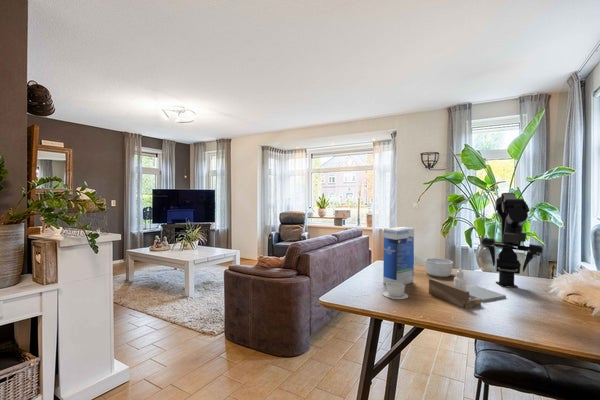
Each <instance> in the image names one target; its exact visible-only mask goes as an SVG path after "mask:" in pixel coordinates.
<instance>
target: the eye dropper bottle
mask: <svg viewBox="0 0 600 400" xmlns="http://www.w3.org/2000/svg"><path fill="white" fill-rule="evenodd" d="M455 274H456V276H454V278H453V286H455V287H457V288H460V289H463V290H466V287H467V282H466V279H465V277H464V271H462V268H461V267H459V268H458V270H457V271H456V273H455Z"/></svg>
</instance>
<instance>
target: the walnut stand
mask: <svg viewBox="0 0 600 400" xmlns="http://www.w3.org/2000/svg"><path fill="white" fill-rule="evenodd" d="M428 293H429V294H430V295H433V296H435V297H438V298H440V299H442V300H445V301H448V302H450V303H451V304H454V305H457V306H459V307H462V308H464V309H470V308H477V307H481V306H482V302H481V299H479V298H474V299H473V298H470V297H469V291H466V290H463V289H460V288H457V287H455V286H454V285H451V284H449V283H446V282H442V281H441V280H438V279H435V278H428Z"/></svg>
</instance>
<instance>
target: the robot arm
mask: <svg viewBox="0 0 600 400" xmlns="http://www.w3.org/2000/svg"><path fill="white" fill-rule="evenodd" d="M494 207H495V208H494V210H495V211H496V216H498V218H499V219H500V225H501V227H500V228H501V230H500V233H501V236H500V237H501V238H500V239H501V241H496V240H495V238H491V237H490V238H489V237H484V238H482V239H481V240H482V241H481V245H482V247H483V248H485V249H486V250H487V251H488V252H489V253H490V255H491V262H492V265H493V267H494V269H495V272H496V273H498V272H499V273H498V281H495V283H496V284H497V285H499V286H500V287H503V288H518V287H519V286H518V285H516V284H515V274H517V275H519V274H521V266H522V265H521V262H520V260H519V258H518V254H517V253H516V252H515V251H514V250H516V251H522V252H526V256H525V260H524V263H523V266H522V272H523V273H524V272H525V271H526V269H527V267H528V266H529V264H530V262H531V261H532V260H533V258H536V259H537V258H538V257H542V255H543V247H542V245H537V244H531V243H529V244H528V245H529V246H526V245H521V243H522V242H524V243H526V240H527V232H523V228H524V224H525V223H526V221H527V219H528V217H529V213H530V208H529V205H528V204H527V202H526V201H525V200H524V199H523V198H518V197H516V193H515V192H502V193H501V195H500V196H499V197H498V198H496V199H495V206H494ZM528 212H529V213H528ZM496 247H498V248H501V250H500V252H499V253H498V254H497V258H496Z"/></svg>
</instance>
